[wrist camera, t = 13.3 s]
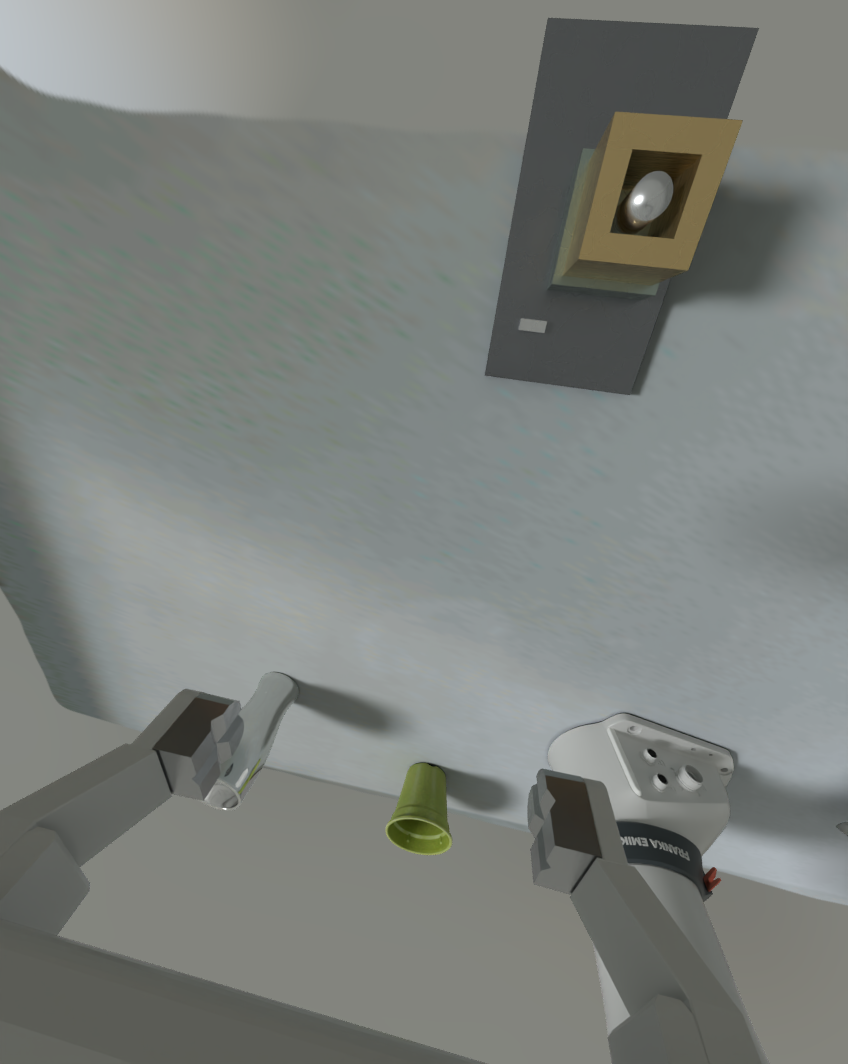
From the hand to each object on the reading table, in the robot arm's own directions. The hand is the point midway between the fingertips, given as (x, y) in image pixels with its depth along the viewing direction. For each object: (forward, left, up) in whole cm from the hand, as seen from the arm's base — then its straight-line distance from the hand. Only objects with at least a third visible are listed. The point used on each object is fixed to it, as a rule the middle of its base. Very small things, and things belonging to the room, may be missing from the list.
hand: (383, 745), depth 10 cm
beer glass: (+21, +38, -29) cm, 52 cm away
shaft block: (-8, -18, -29) cm, 35 cm away
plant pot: (-3, +51, -29) cm, 59 cm away
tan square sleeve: (-8, -18, -26) cm, 32 cm away
